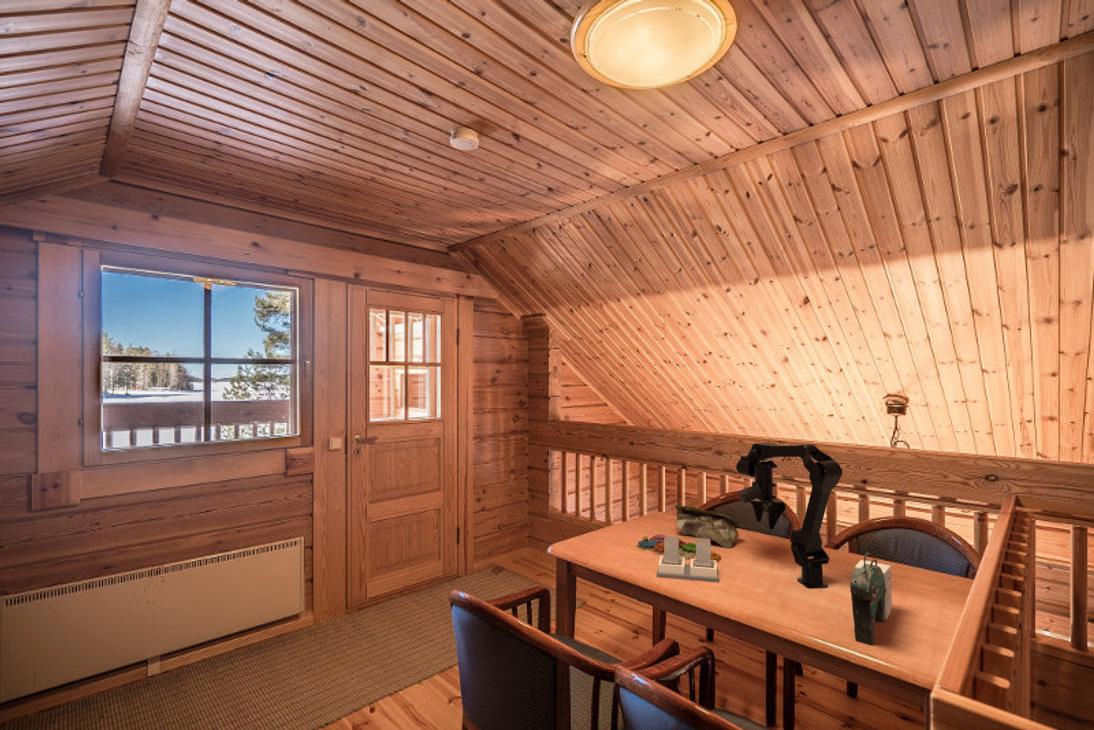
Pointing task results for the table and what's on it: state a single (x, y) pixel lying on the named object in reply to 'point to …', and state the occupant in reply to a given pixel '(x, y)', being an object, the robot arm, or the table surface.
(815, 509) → the robot arm
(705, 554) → the block
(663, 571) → the double socket tray
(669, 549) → the billet
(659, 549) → the gear puzzle
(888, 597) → the supplement box
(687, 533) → the hollow geode rock
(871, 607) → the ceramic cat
